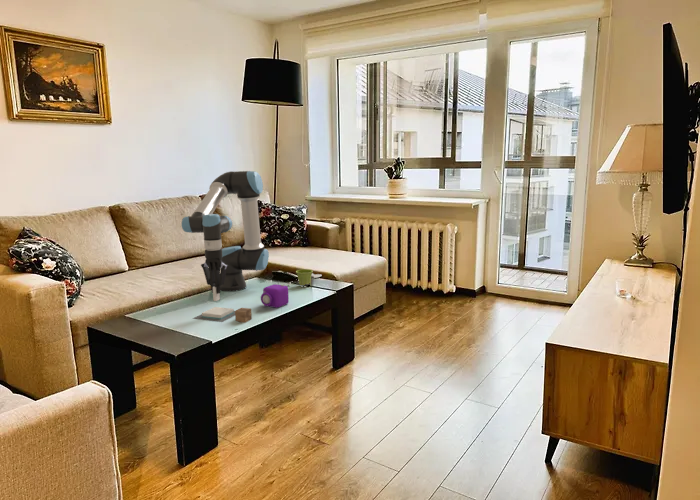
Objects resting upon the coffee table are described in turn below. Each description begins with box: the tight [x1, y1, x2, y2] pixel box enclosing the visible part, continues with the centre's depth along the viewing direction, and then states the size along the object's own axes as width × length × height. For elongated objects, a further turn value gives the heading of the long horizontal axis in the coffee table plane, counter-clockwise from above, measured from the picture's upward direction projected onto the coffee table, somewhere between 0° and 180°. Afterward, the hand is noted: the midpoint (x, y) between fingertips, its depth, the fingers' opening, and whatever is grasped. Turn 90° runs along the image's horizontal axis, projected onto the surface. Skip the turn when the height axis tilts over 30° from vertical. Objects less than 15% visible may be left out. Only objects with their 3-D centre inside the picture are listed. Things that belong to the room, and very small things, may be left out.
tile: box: [201, 306, 235, 319], centre depth 224 cm, size 10×2×10 cm
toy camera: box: [260, 283, 290, 309], centre depth 238 cm, size 11×14×10 cm
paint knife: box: [286, 272, 322, 285], centre depth 291 cm, size 30×14×2 cm, turn 156°
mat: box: [191, 310, 236, 323], centre depth 224 cm, size 16×16×1 cm
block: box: [234, 307, 253, 324], centre depth 217 cm, size 5×5×5 cm
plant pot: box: [295, 268, 313, 285], centre depth 276 cm, size 9×9×9 cm
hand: (216, 300), depth 223 cm, fingers closed
